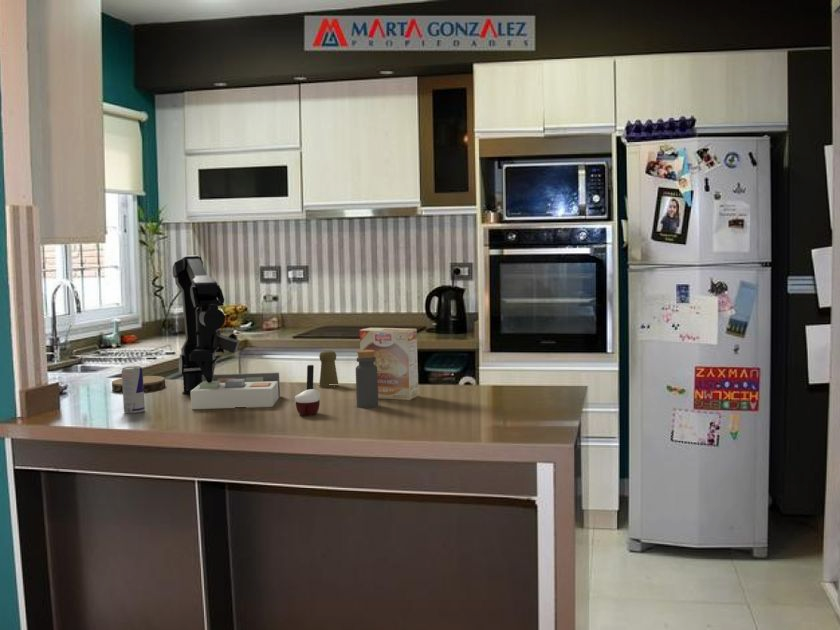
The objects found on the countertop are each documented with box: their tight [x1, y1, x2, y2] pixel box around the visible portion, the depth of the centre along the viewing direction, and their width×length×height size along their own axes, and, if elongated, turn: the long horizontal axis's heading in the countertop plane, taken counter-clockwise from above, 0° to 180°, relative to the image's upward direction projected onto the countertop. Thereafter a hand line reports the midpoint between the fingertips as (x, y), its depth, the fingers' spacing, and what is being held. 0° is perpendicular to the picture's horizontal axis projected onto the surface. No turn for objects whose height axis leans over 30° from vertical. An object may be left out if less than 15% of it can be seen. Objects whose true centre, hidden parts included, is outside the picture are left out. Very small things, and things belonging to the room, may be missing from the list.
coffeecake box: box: [359, 327, 419, 401], centre depth 236 cm, size 15×7×20 cm, turn 68°
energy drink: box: [121, 365, 146, 415], centre depth 225 cm, size 5×5×12 cm
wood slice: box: [111, 375, 166, 394], centre depth 262 cm, size 16×16×3 cm
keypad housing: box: [190, 372, 281, 410], centre depth 234 cm, size 22×15×7 cm
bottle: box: [355, 349, 379, 409], centre depth 224 cm, size 6×6×15 cm
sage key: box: [200, 381, 220, 389], centre depth 232 cm, size 5×5×4 cm
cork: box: [318, 349, 339, 389], centre depth 257 cm, size 6×6×11 cm
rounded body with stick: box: [294, 364, 321, 417], centre depth 216 cm, size 10×6×12 cm, turn 153°
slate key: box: [225, 379, 245, 388], centre depth 233 cm, size 5×5×4 cm
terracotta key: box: [251, 383, 270, 387], centre depth 233 cm, size 5×5×4 cm
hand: (209, 382), depth 232 cm, fingers closed, pressing on sage key
